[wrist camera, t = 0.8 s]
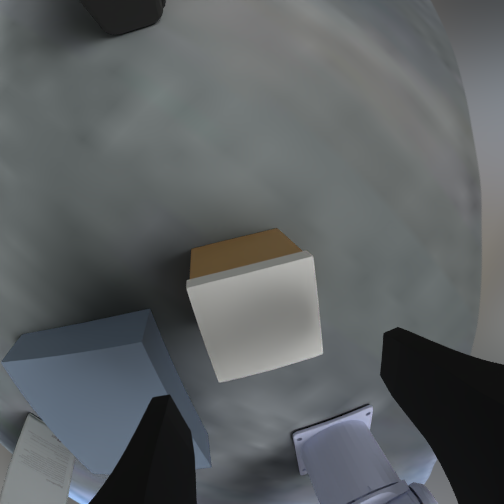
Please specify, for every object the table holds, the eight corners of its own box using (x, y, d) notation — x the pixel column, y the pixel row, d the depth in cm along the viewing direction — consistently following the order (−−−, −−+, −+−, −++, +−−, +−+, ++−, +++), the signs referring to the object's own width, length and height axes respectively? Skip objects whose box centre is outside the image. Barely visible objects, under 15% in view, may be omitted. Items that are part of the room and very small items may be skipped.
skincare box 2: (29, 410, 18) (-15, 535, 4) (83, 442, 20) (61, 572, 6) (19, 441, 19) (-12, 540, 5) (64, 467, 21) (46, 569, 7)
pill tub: (290, 303, 19) (323, 354, 14) (211, 324, 18) (218, 382, 13) (278, 225, 17) (313, 256, 12) (189, 247, 16) (186, 288, 11)
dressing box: (207, 430, 22) (211, 467, 18) (99, 441, 21) (92, 473, 17) (151, 305, 17) (141, 341, 14) (24, 331, 16) (1, 362, 13)
